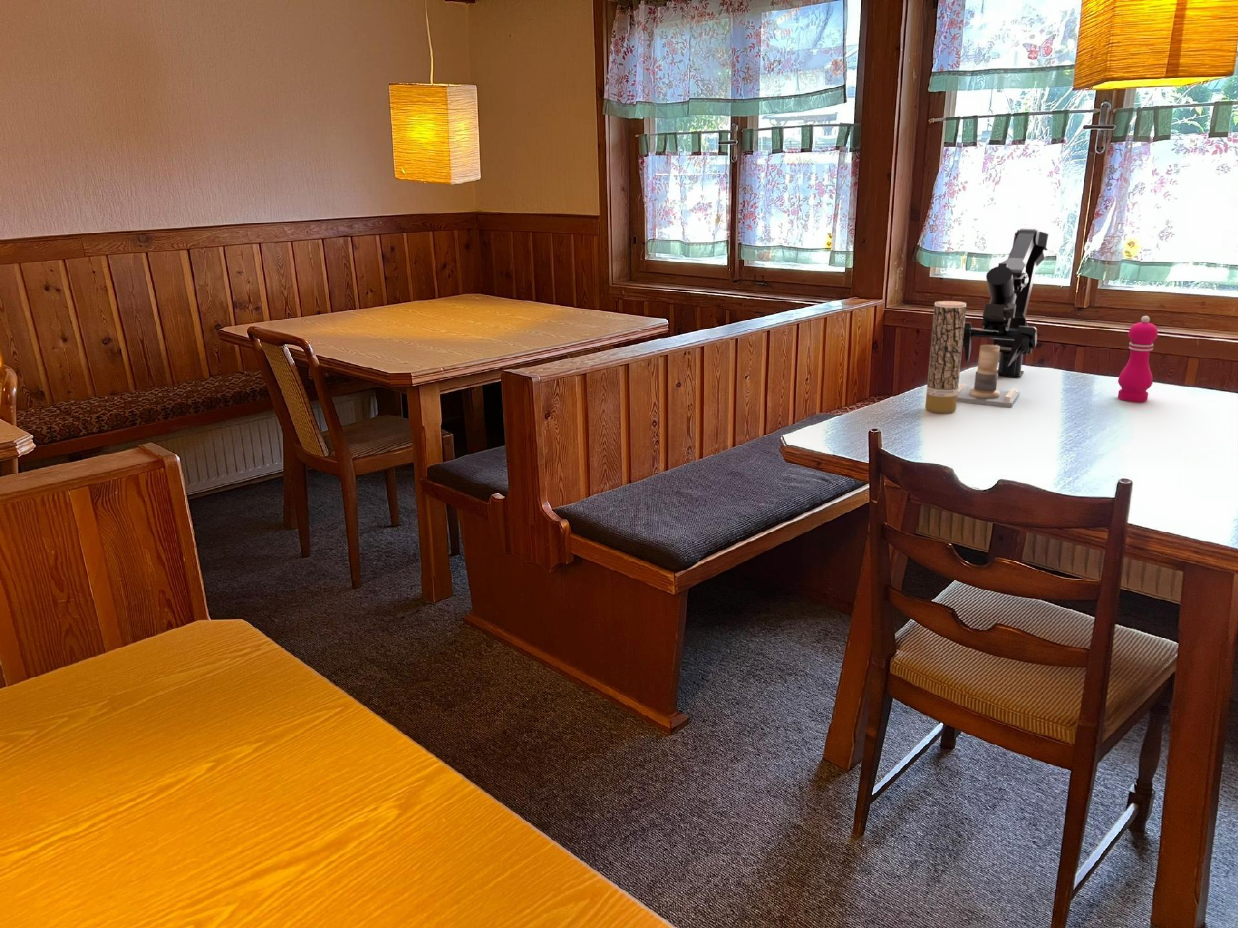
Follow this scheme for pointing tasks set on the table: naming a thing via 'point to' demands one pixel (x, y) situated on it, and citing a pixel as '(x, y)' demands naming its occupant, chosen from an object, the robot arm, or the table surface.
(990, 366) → the bobbin
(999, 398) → the board
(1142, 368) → the pepper mill
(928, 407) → the wooden log
